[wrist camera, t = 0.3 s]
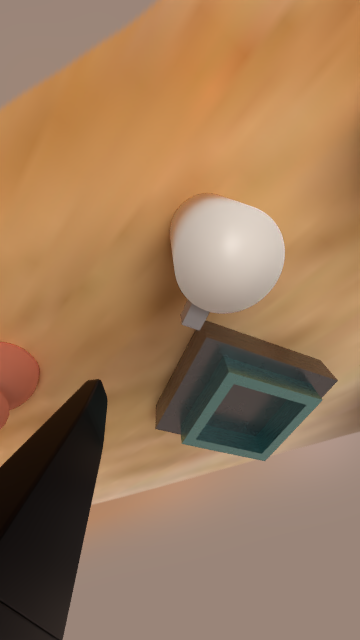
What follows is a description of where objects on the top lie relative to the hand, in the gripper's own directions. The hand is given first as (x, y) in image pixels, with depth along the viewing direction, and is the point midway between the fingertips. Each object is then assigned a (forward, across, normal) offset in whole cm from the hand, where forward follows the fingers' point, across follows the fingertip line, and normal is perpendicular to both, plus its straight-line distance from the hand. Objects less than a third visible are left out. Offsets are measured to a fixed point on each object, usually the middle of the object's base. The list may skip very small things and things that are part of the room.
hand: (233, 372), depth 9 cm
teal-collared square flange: (+14, -4, +14) cm, 20 cm away
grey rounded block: (+14, -1, -2) cm, 14 cm away
